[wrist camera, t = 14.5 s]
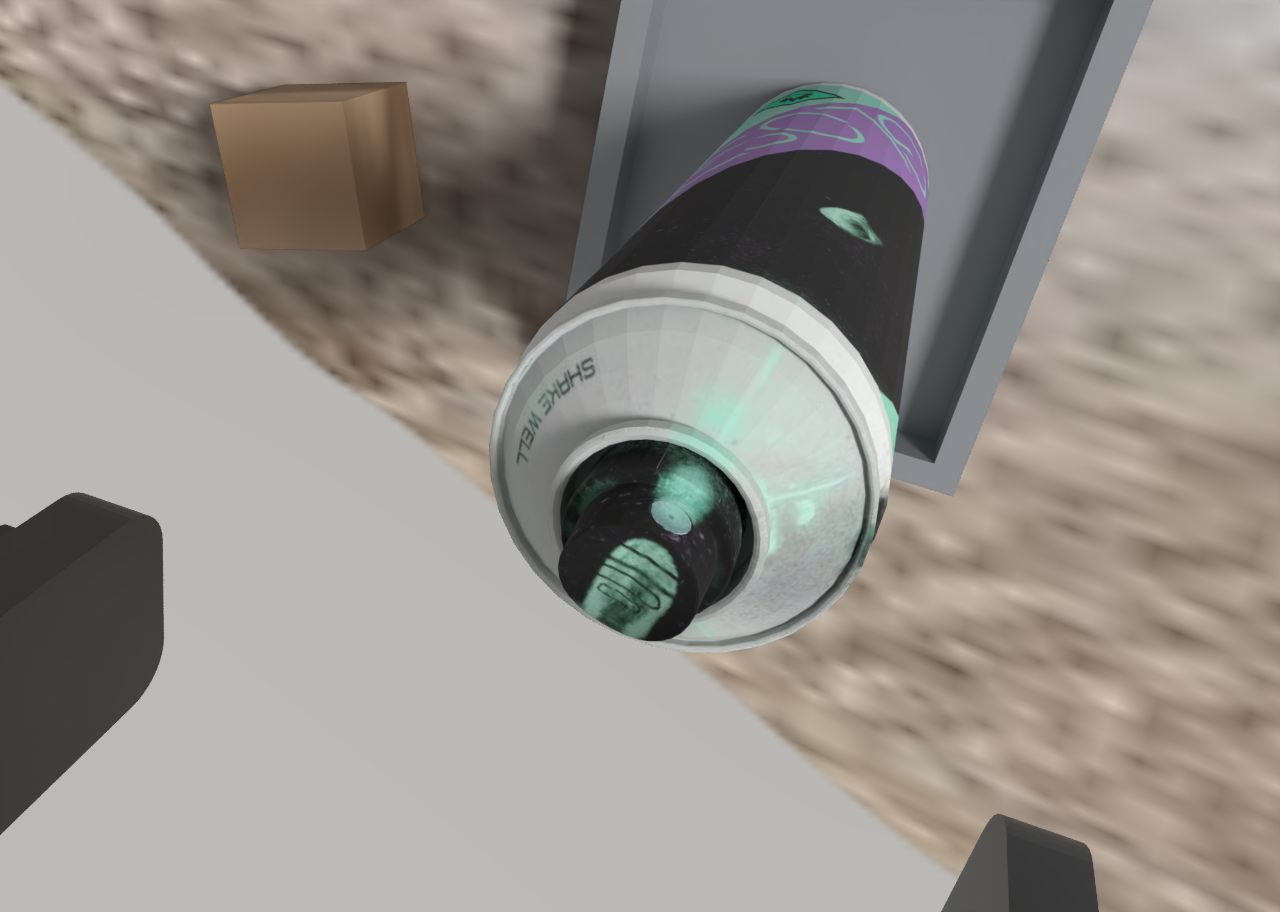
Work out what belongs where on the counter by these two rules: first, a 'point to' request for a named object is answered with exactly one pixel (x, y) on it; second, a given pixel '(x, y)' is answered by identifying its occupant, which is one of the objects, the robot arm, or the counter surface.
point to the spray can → (727, 386)
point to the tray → (945, 125)
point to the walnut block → (319, 165)
